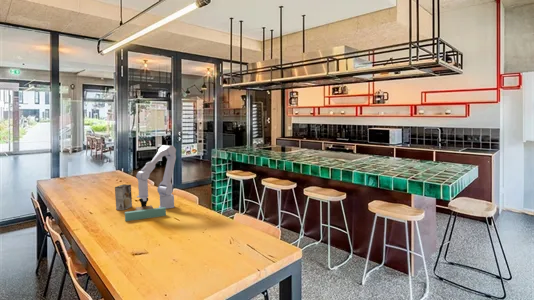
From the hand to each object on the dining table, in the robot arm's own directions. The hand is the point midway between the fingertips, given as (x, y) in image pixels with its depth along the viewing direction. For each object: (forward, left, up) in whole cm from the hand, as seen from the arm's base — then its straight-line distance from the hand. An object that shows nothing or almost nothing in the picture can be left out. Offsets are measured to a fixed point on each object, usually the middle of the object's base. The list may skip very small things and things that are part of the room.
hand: (143, 209), depth 205 cm
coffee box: (+11, -19, -3) cm, 22 cm away
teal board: (0, +10, -3) cm, 10 cm away
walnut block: (0, +4, -3) cm, 5 cm away
